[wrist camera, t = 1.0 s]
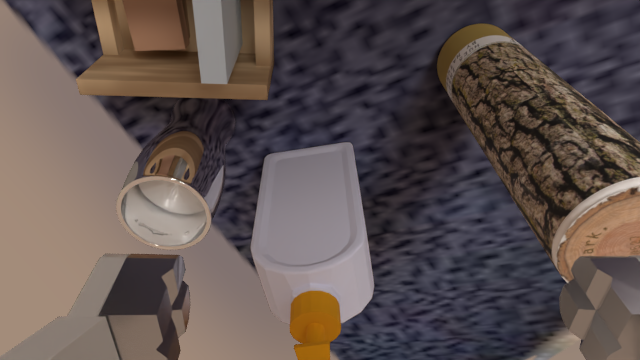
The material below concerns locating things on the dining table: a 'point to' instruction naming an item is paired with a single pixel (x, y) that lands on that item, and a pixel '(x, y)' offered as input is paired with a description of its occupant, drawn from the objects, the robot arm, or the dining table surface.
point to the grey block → (217, 38)
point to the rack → (178, 59)
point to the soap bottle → (312, 244)
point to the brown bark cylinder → (546, 146)
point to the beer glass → (179, 176)
